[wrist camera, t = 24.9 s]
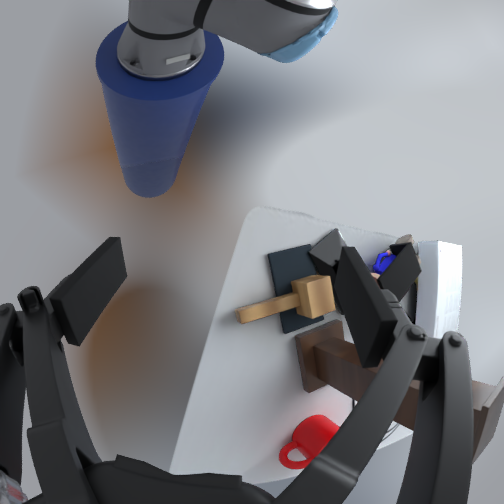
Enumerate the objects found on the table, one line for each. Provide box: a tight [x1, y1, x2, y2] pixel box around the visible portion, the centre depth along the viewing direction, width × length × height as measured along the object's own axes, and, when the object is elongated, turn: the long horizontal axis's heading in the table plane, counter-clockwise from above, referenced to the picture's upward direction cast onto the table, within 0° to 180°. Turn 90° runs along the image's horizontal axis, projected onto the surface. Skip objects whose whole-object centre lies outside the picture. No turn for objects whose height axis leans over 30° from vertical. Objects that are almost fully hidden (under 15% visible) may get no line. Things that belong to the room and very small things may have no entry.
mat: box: [268, 244, 324, 334], centre depth 42 cm, size 12×7×1 cm, turn 12°
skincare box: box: [415, 240, 462, 339], centre depth 50 cm, size 21×5×16 cm
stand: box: [295, 320, 504, 464], centre depth 29 cm, size 8×10×31 cm
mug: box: [279, 415, 340, 469], centre depth 38 cm, size 8×12×8 cm, turn 104°
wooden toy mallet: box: [235, 275, 335, 324], centre depth 38 cm, size 13×5×4 cm, turn 102°
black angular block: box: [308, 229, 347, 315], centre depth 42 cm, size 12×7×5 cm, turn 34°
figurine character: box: [371, 235, 422, 302], centre depth 45 cm, size 7×8×15 cm
